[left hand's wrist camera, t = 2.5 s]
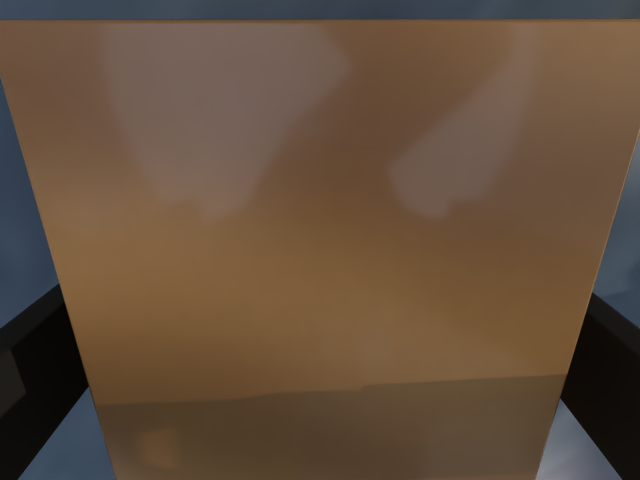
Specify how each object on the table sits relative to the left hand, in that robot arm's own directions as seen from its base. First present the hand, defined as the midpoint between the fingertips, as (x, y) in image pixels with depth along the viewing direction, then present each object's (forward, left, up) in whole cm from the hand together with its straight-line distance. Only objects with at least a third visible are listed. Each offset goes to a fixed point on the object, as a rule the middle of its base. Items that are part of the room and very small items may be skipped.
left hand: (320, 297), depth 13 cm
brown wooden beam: (+18, +14, -3) cm, 23 cm away
